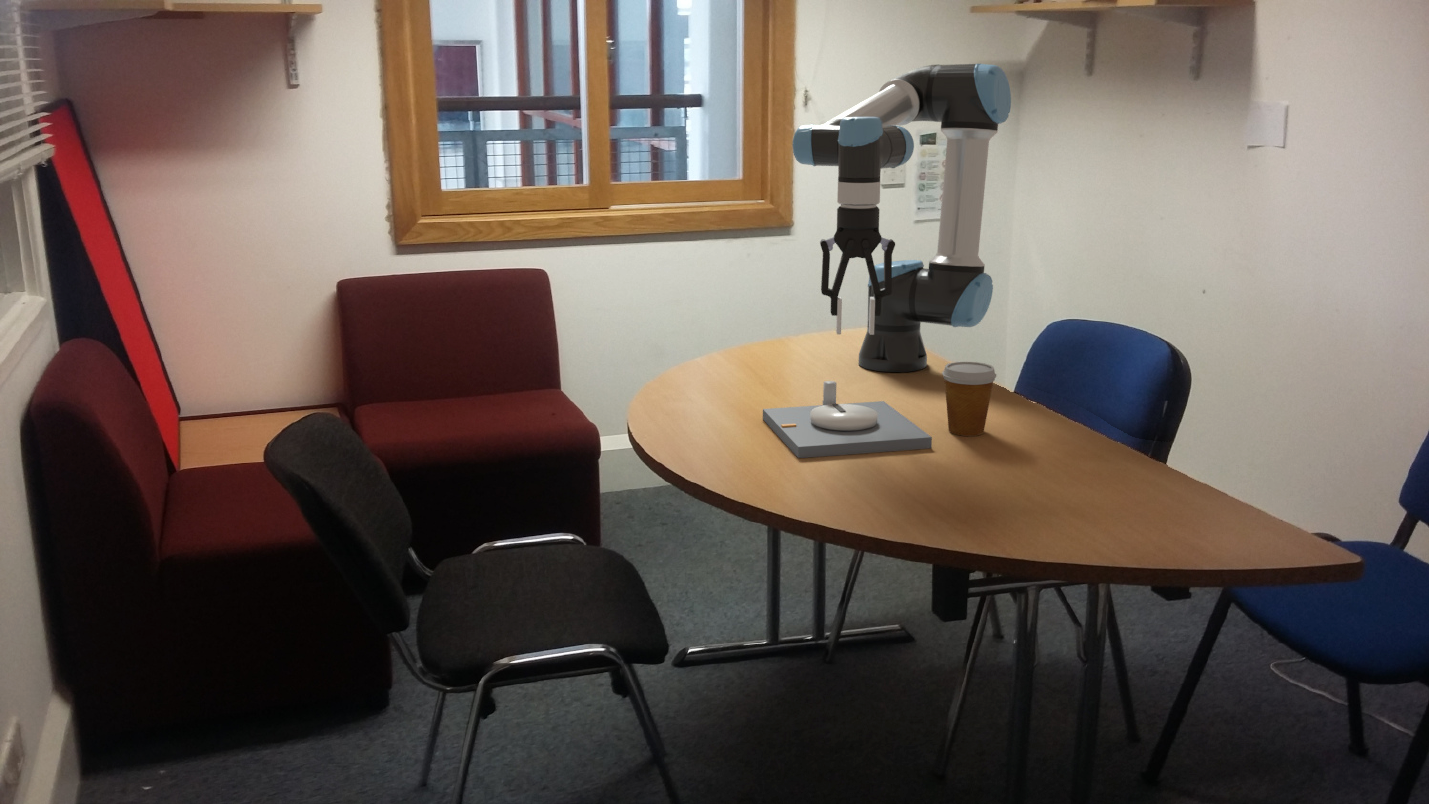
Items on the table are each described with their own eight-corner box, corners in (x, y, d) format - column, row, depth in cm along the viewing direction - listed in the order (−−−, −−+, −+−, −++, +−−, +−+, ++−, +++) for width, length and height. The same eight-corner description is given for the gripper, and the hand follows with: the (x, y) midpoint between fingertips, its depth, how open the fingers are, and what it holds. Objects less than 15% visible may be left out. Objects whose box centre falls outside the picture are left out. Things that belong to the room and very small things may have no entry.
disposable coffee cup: (993, 440, 206) (997, 374, 203) (938, 437, 208) (942, 372, 204) (992, 425, 215) (996, 362, 212) (939, 422, 217) (942, 359, 213)
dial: (886, 428, 206) (887, 400, 204) (821, 432, 203) (822, 405, 202) (857, 404, 221) (858, 378, 219) (796, 408, 218) (796, 382, 217)
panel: (883, 411, 224) (883, 399, 224) (931, 448, 202) (931, 435, 201) (762, 419, 219) (762, 407, 219) (798, 458, 197) (798, 445, 196)
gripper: (907, 203, 211) (902, 328, 217) (806, 203, 212) (804, 328, 218) (912, 207, 204) (907, 337, 210) (807, 207, 204) (805, 337, 211)
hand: (854, 332), depth 214 cm, fingers open, 5 cm apart
